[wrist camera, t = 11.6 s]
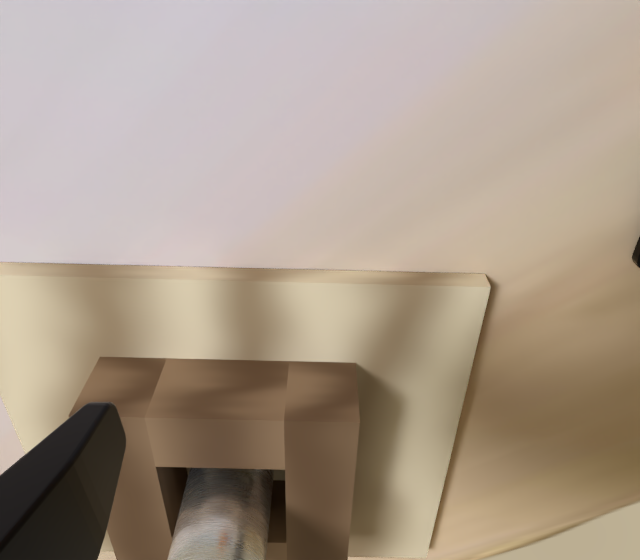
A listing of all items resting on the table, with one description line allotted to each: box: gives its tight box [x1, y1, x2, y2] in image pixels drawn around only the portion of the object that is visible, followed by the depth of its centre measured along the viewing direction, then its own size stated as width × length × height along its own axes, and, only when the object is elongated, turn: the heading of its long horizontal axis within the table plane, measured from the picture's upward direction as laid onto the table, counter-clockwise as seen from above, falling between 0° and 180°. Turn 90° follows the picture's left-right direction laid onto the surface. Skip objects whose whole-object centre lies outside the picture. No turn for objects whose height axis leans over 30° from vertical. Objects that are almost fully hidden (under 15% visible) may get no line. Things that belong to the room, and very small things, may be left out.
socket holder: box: [0, 262, 491, 560], centre depth 26 cm, size 22×20×4 cm
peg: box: [167, 468, 274, 560], centre depth 23 cm, size 4×4×10 cm
